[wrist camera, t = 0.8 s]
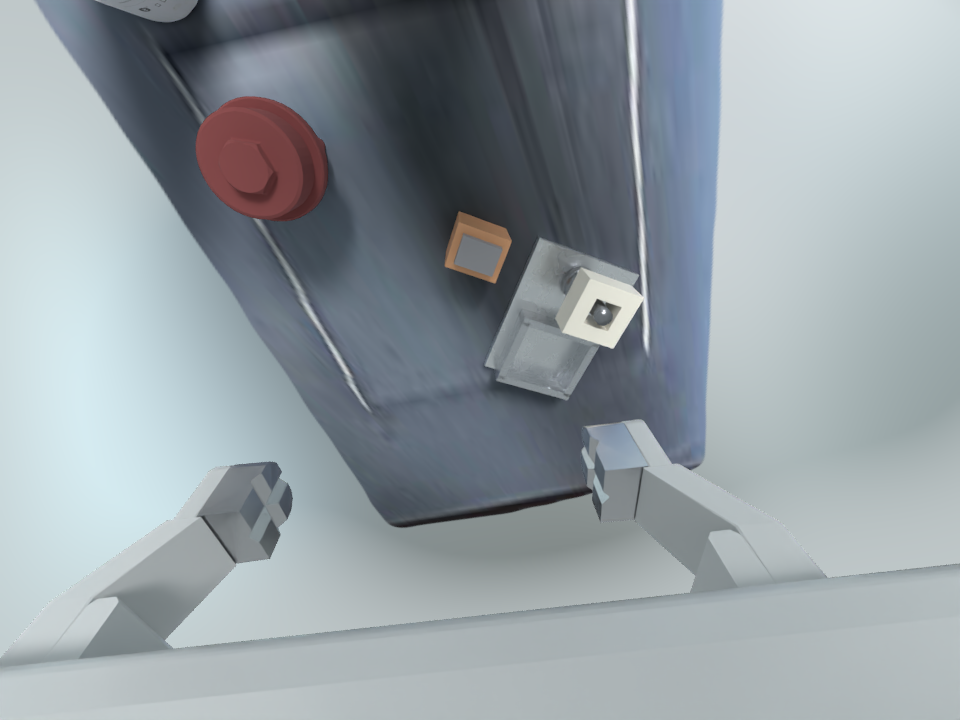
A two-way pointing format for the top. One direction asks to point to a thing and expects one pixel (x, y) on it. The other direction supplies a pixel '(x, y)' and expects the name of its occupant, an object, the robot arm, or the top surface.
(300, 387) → the top surface
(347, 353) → the top surface
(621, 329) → the square housing
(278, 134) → the mechanical component
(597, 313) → the chassis
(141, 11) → the speaker
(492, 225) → the block
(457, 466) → the top surface
